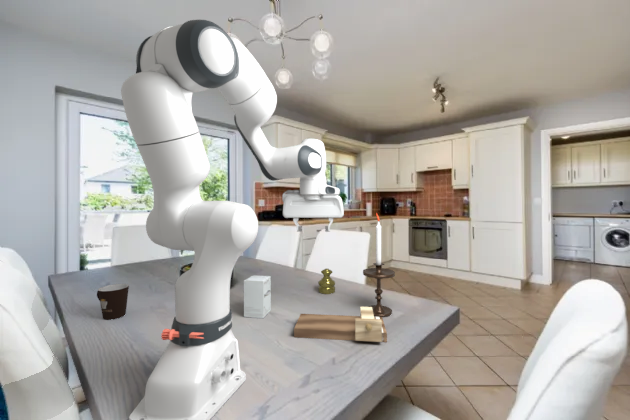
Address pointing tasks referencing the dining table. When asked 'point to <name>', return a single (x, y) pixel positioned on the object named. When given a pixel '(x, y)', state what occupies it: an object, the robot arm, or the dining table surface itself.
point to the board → (329, 327)
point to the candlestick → (379, 277)
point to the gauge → (368, 326)
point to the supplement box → (257, 296)
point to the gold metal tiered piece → (326, 283)
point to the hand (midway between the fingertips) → (313, 231)
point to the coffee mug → (113, 300)
